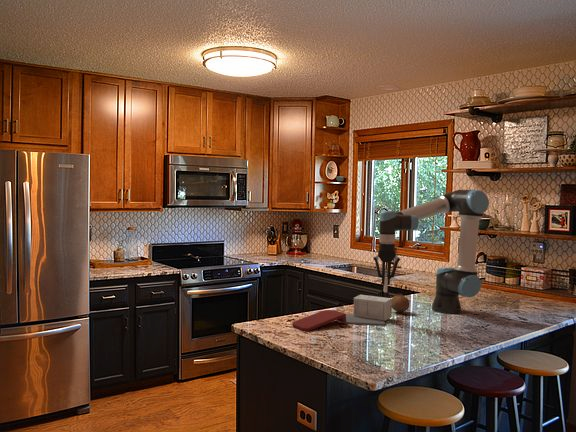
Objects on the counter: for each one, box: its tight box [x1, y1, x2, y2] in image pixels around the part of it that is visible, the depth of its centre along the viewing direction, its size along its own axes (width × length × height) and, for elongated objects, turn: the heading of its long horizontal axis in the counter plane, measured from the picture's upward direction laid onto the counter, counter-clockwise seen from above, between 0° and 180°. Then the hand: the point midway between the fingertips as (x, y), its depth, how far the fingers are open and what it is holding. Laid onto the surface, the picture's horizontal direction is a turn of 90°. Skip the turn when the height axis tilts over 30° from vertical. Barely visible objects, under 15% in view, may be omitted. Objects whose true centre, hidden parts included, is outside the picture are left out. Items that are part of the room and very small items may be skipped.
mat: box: [343, 313, 386, 326], centre depth 252 cm, size 16×20×1 cm
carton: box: [291, 309, 347, 332], centre depth 241 cm, size 12×5×25 cm
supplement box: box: [352, 294, 393, 322], centre depth 257 cm, size 10×9×17 cm
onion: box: [391, 293, 410, 314], centre depth 270 cm, size 10×9×10 cm
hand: (385, 291), depth 251 cm, fingers closed
